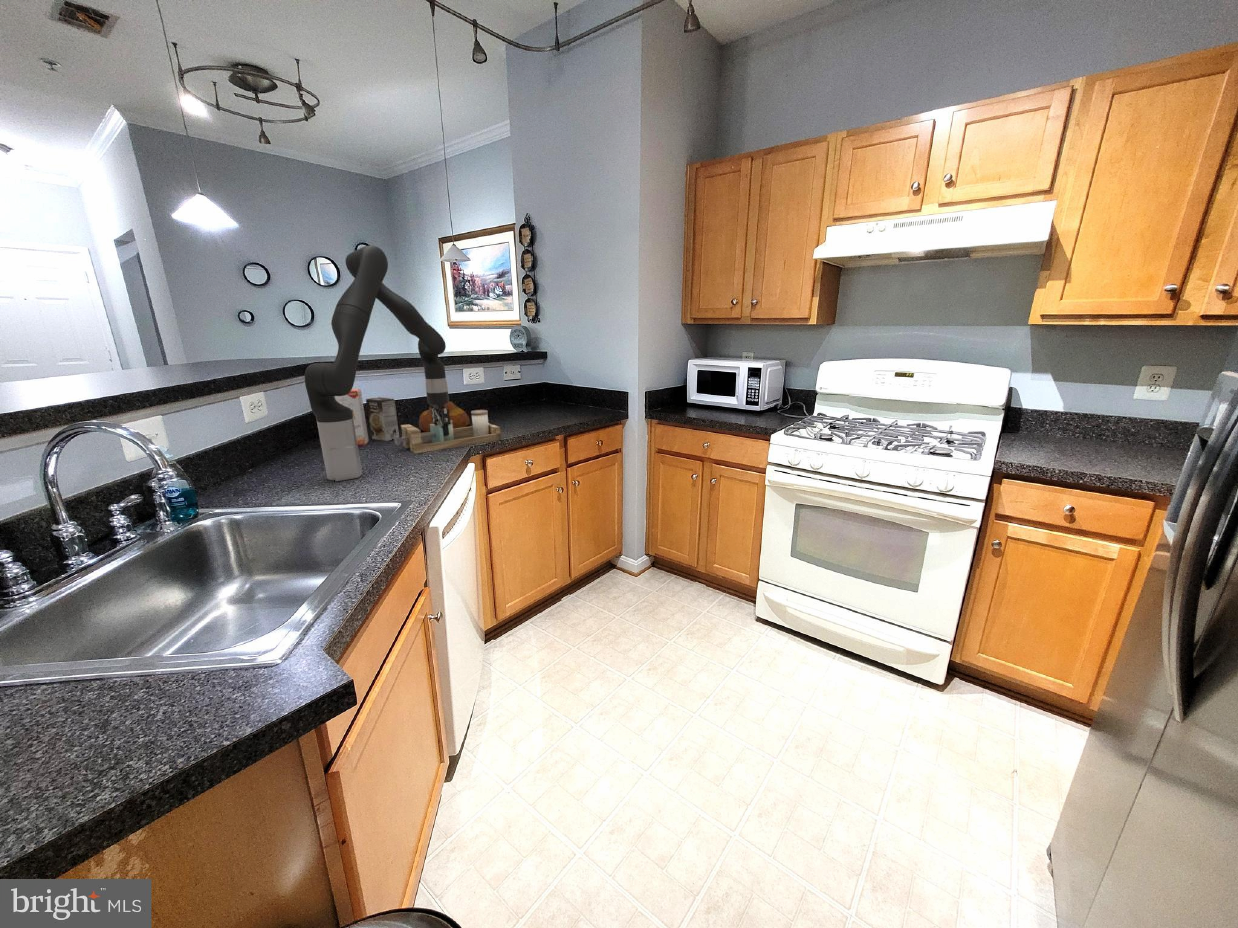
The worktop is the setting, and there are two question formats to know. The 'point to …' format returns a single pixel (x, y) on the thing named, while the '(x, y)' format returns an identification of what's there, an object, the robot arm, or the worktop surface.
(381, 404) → the coffee box
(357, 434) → the cracker box
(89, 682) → the worktop surface
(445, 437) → the jar sage
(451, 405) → the bread
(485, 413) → the jar cream
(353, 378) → the robot arm
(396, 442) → the pusher
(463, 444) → the wooden tray
